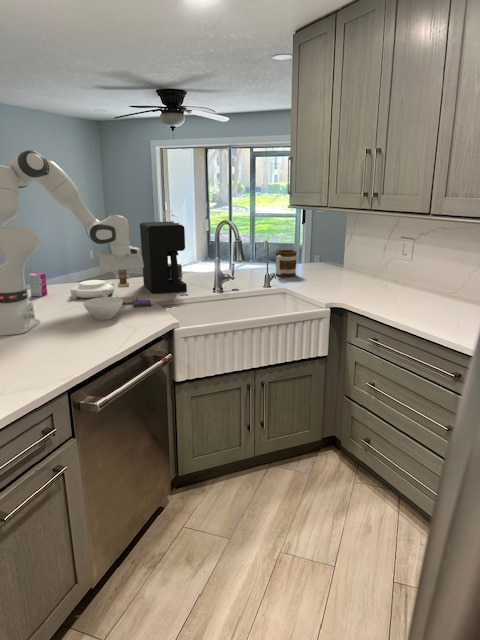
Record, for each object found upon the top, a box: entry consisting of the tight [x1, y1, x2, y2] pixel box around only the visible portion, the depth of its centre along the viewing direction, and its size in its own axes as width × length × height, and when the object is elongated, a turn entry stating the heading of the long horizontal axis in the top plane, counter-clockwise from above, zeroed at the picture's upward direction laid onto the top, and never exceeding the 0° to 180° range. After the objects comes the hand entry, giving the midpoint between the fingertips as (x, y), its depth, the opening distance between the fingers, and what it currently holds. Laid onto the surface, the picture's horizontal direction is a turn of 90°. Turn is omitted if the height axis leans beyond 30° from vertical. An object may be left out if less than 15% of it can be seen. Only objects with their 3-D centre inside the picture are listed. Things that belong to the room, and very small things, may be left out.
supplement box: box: [28, 272, 48, 298], centre depth 232 cm, size 6×6×12 cm
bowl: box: [83, 296, 123, 321], centre depth 195 cm, size 16×16×7 cm
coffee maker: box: [138, 220, 188, 295], centre depth 243 cm, size 28×20×35 cm
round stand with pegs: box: [70, 279, 115, 301], centre depth 234 cm, size 24×24×7 cm
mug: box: [275, 249, 298, 279], centre depth 279 cm, size 20×14×15 cm
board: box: [116, 296, 139, 306], centre depth 222 cm, size 12×12×1 cm
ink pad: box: [132, 299, 152, 308], centre depth 216 cm, size 8×8×2 cm
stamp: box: [117, 270, 130, 289], centre depth 219 cm, size 5×5×9 cm
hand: (123, 278), depth 219 cm, fingers closed on stamp, 3 cm apart
